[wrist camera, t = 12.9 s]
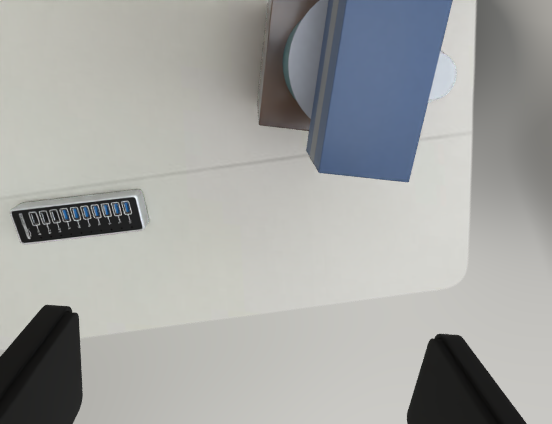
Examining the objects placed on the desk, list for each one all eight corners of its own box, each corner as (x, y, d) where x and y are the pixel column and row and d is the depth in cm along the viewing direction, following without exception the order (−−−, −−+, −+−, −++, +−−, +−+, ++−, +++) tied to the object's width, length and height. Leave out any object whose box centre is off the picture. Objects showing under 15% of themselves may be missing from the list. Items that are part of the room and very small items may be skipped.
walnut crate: (267, 4, 42) (274, -26, 27) (362, 17, 43) (419, -5, 28) (257, 103, 46) (258, 125, 31) (345, 114, 47) (388, 140, 32)
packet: (334, -43, 21) (357, -73, 16) (420, -30, 21) (466, -55, 17) (305, 151, 24) (317, 173, 20) (380, 159, 25) (409, 183, 20)
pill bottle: (426, 90, 46) (468, 98, 37) (379, 105, 46) (410, 116, 37) (418, 40, 44) (460, 35, 35) (369, 55, 45) (399, 55, 36)
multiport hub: (149, 223, 50) (145, 230, 48) (30, 237, 50) (20, 245, 48) (141, 188, 48) (136, 194, 46) (18, 203, 48) (8, 209, 46)
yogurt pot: (288, -6, 28) (299, -27, 21) (401, 10, 29) (446, -5, 22) (274, 112, 31) (279, 128, 24) (377, 124, 31) (411, 143, 24)
